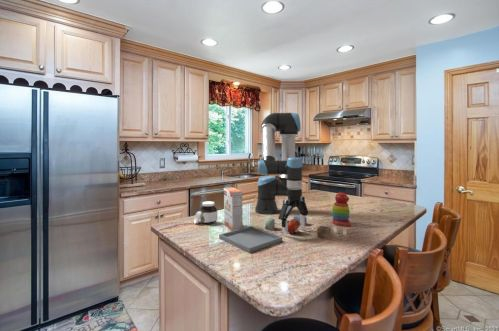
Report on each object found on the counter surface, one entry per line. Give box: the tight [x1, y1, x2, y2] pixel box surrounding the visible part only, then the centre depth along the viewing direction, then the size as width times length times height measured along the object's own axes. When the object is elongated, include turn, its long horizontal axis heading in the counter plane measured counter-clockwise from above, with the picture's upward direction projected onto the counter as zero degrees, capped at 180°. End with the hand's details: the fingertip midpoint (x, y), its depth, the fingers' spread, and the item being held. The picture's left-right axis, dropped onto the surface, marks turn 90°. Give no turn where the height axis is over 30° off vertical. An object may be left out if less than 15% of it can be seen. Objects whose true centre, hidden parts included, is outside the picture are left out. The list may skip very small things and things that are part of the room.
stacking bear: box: [331, 191, 353, 228], centre depth 148 cm, size 11×10×18 cm
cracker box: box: [223, 186, 244, 231], centre depth 140 cm, size 14×6×21 cm, turn 23°
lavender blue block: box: [293, 215, 307, 226], centre depth 148 cm, size 6×4×4 cm, turn 43°
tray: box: [218, 225, 283, 254], centre depth 123 cm, size 22×20×2 cm
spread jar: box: [193, 200, 218, 225], centre depth 149 cm, size 12×11×12 cm
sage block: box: [264, 217, 276, 231], centre depth 140 cm, size 5×5×5 cm
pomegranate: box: [287, 218, 301, 235], centre depth 132 cm, size 7×7×10 cm
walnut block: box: [316, 225, 332, 240], centre depth 127 cm, size 5×5×4 cm
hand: (293, 230), depth 132 cm, fingers open, 13 cm apart
